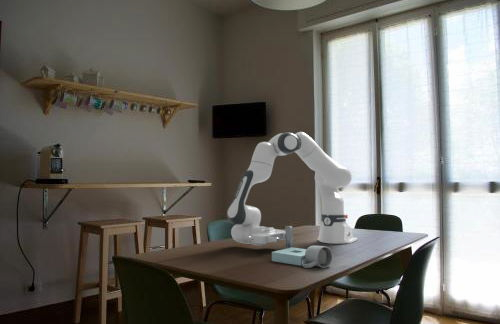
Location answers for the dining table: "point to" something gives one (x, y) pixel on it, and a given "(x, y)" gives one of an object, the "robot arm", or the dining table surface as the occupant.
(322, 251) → the ceramic mug
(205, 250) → the dining table surface
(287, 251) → the socket block
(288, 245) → the pin
